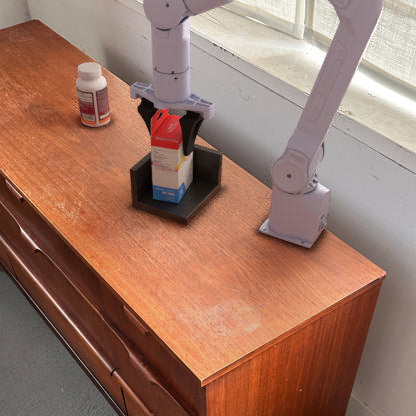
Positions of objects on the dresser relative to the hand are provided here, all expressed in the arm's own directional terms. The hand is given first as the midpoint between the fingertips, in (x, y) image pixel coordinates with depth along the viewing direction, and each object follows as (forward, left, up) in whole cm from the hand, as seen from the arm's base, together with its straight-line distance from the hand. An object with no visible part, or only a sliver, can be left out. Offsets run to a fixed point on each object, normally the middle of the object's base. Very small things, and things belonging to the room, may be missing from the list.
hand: (172, 148), depth 106 cm
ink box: (0, 0, -8) cm, 8 cm away
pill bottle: (+28, -16, -10) cm, 34 cm away
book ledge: (-1, 0, -10) cm, 10 cm away
